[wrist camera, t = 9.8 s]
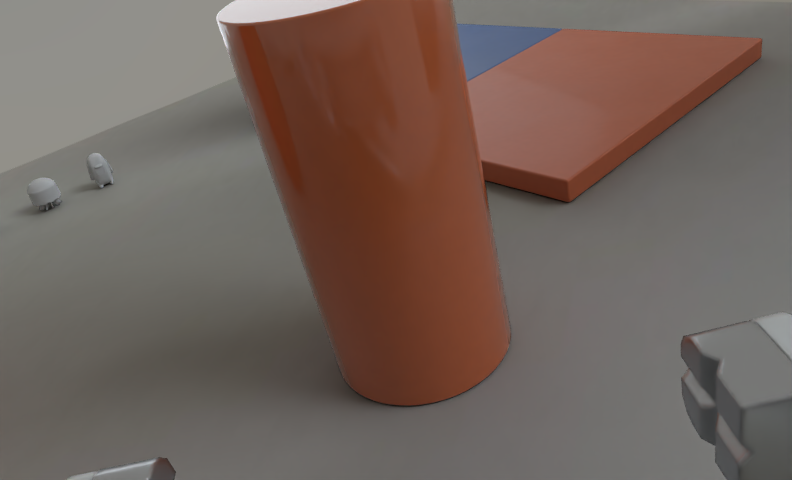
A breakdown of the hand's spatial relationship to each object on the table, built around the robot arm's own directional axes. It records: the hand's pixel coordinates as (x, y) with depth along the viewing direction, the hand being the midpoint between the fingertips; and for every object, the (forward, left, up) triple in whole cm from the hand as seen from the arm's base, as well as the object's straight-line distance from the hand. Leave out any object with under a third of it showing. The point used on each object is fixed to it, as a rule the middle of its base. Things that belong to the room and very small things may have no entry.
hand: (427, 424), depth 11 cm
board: (+20, -22, -6) cm, 31 cm away
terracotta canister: (+7, -5, -6) cm, 11 cm away
